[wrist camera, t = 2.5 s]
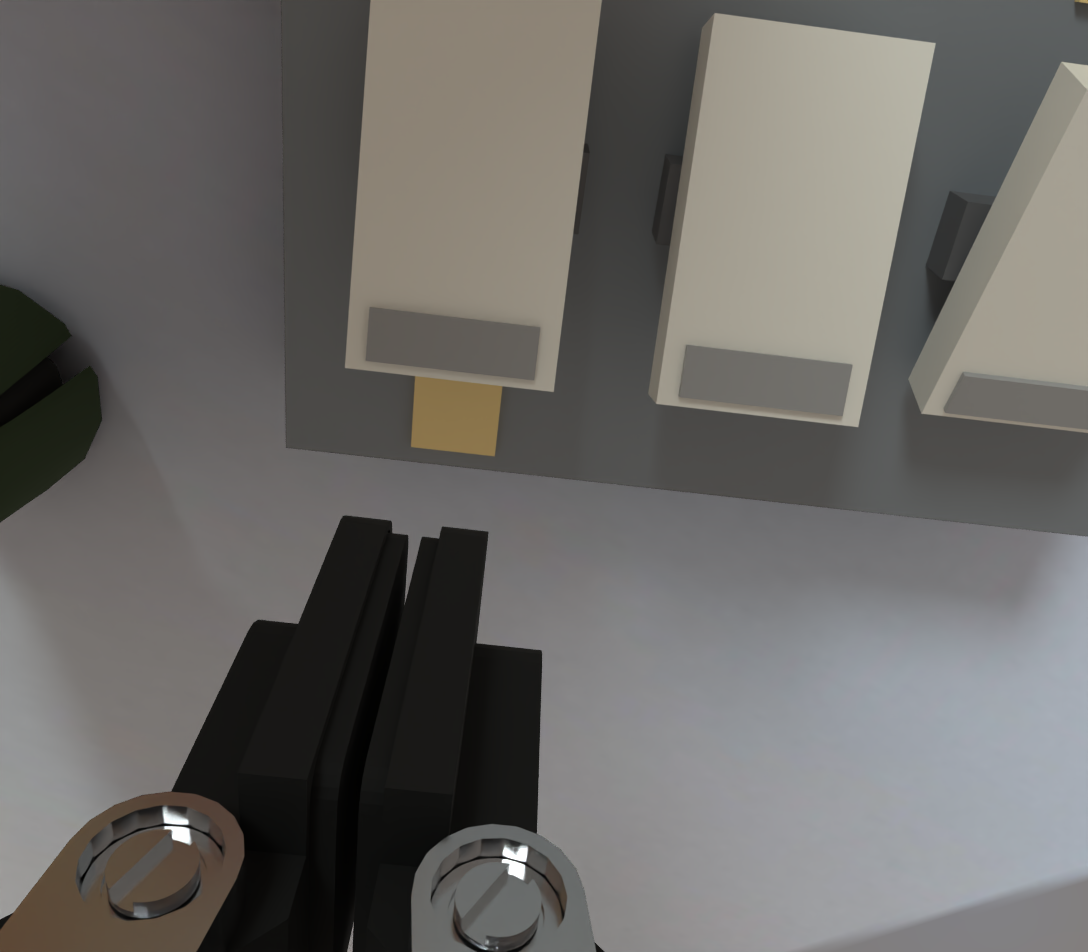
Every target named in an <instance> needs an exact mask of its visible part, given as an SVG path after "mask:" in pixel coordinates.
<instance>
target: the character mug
mask: <svg viewBox="0 0 1088 952" xmlns="http://www.w3.org/2000/svg"><path fill="white" fill-rule="evenodd" d="M70 337H71V334H70V333H69V331H68V329H67V327H66V326H65V324H64V323H63V322H61V321H60V320H59V319H57V318H56V317H55V316H53V315H52V314H50V313H49V312H48V311H46V310H45V309H44V308H42V307H41V306H40V305H38V304H37V303H35V302H34V301H33V300H31V299H30V298H29V297H27V296H26V295H25V294H23V293H22V292H20V291H19V290H16V289H13V288H10V287H6V286H3V285H0V522H1V521H3V520H4V519H6V518H7V517H8V516H10V515H11V514H13V513H14V512H16V511H17V510H19V509H20V508H21V507H23V506H24V505H26V504H27V503H29V502H30V501H32V500H33V499H34V498H36V497H37V496H39V495H40V494H42V493H43V492H45V491H46V490H47V489H49V488H50V487H51V486H52V485H53V484H55V483H56V482H57V481H58V480H60V479H61V478H62V477H63V476H64V475H66V474H67V473H68V472H69V471H70V470H72V469H73V468H74V467H75V466H76V465H78V464H79V463H80V462H81V461H83V460H84V459H85V457H86V455H87V452H88V450H89V448H90V446H91V443H92V441H93V439H94V437H95V434H96V432H97V430H98V428H99V425H100V423H101V421H102V417H101V407H100V397H99V387H98V377H97V375H96V374H95V372H94V371H93V369H92V368H91V366H89V367H87V368H86V369H84V370H83V371H82V372H80V373H79V374H77V375H76V376H75V377H73V378H72V379H71V380H69V381H68V382H66V383H65V384H64V385H63V384H62V381H61V378H60V375H59V372H58V369H57V366H56V365H55V364H54V363H53V362H52V361H51V360H49V359H48V358H47V356H48V355H49V354H51V353H52V352H53V351H54V350H55V349H57V348H58V347H59V346H60V345H61V344H63V343H64V342H65V341H66V340H67V339H68V338H70Z"/></svg>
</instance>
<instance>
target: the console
mask: <svg viewBox="0 0 1088 952" xmlns="http://www.w3.org/2000/svg"><path fill="white" fill-rule="evenodd" d="M370 1H371V0H281V29H282V122H283V216H284V309H285V403H286V448H294V449H303V450H312V451H321V452H330V453H339V454H348V455H357V456H366V457H375V458H384V459H393V460H402V461H411V462H420V463H429V464H438V465H447V466H456V467H465V468H474V469H483V470H492V471H501V472H510V473H519V474H528V475H537V476H546V477H555V478H564V479H573V480H582V481H591V482H600V483H609V484H618V485H627V486H637V487H646V488H655V489H664V490H673V491H682V492H691V493H700V494H709V495H718V496H727V497H736V498H745V499H754V500H763V501H772V502H781V503H790V504H799V505H808V506H817V507H826V508H835V509H844V510H853V511H862V512H871V513H880V514H889V515H898V516H907V517H916V518H925V519H934V520H943V521H952V522H961V523H970V524H979V525H989V526H998V527H1007V528H1016V529H1025V530H1034V531H1043V532H1052V533H1061V534H1070V535H1079V536H1088V433H1084V432H1075V431H1067V430H1058V429H1050V428H1041V427H1032V426H1024V425H1015V424H1007V423H998V422H989V421H981V420H972V419H964V418H955V417H947V416H938V415H929V414H921V411H920V409H919V406H918V403H917V401H916V398H915V395H914V393H913V390H912V388H911V385H910V382H909V380H908V378H909V376H910V374H911V372H912V370H913V368H914V366H915V364H916V362H917V360H918V358H919V356H920V354H921V352H922V349H923V347H924V345H925V343H926V341H927V339H928V337H929V335H930V333H931V331H932V329H933V327H934V325H935V322H936V320H937V318H938V316H939V314H940V312H941V310H942V308H943V306H944V304H945V302H946V300H947V298H948V296H949V293H950V291H951V289H952V287H953V285H954V283H955V281H956V279H957V277H958V275H959V273H960V271H961V269H962V267H963V264H964V262H965V260H966V258H967V256H968V254H969V252H970V250H971V248H972V246H973V244H974V242H975V240H976V238H977V235H978V233H979V231H980V229H981V227H982V225H983V223H984V221H985V219H986V217H987V215H988V213H989V211H990V209H991V206H992V204H993V202H994V200H995V198H996V196H997V194H998V192H999V190H1000V188H1001V186H1002V184H1003V182H1004V180H1005V177H1006V175H1007V173H1008V171H1009V169H1010V167H1011V165H1012V163H1013V161H1014V159H1015V157H1016V155H1017V153H1018V151H1019V148H1020V146H1021V144H1022V142H1023V140H1024V138H1025V136H1026V134H1027V132H1028V130H1029V128H1030V126H1031V124H1032V121H1033V119H1034V117H1035V115H1036V113H1037V111H1038V109H1039V107H1040V105H1041V103H1042V101H1043V99H1044V97H1045V95H1046V92H1047V90H1048V88H1049V86H1050V84H1051V82H1052V80H1053V78H1054V76H1055V74H1056V72H1057V70H1058V68H1059V66H1060V63H1061V62H1067V63H1074V64H1081V65H1088V0H602V3H601V11H600V19H599V27H598V35H597V44H596V52H595V60H594V68H593V76H592V84H591V92H590V100H589V108H588V117H587V125H586V133H585V141H584V149H583V157H582V165H581V173H580V182H579V190H578V198H577V206H576V214H575V222H574V230H573V238H572V246H571V255H570V263H569V271H568V279H567V287H566V295H565V303H564V311H563V320H562V328H561V336H560V344H559V352H558V360H557V368H556V376H555V384H554V392H549V391H541V390H532V389H523V388H515V387H506V386H497V385H489V384H480V383H471V382H463V381H454V380H445V379H436V378H428V377H419V376H410V375H402V374H393V373H384V372H376V371H367V370H358V369H350V368H345V359H346V344H347V330H348V316H349V301H350V287H351V273H352V259H353V244H354V230H355V216H356V201H357V187H358V173H359V158H360V144H361V130H362V115H363V101H364V87H365V73H366V58H367V44H368V30H369V15H370ZM714 13H719V14H726V15H733V16H741V17H748V18H755V19H763V20H770V21H777V22H785V23H792V24H799V25H806V26H814V27H821V28H828V29H836V30H843V31H850V32H858V33H865V34H872V35H880V36H887V37H894V38H901V39H909V40H916V41H923V42H931V43H936V44H935V49H934V54H933V59H932V64H931V69H930V74H929V79H928V84H927V89H926V94H925V99H924V104H923V109H922V114H921V119H920V124H919V129H918V133H917V138H916V143H915V148H914V153H913V158H912V163H911V168H910V173H909V178H908V183H907V188H906V193H905V198H904V203H903V208H902V213H901V218H900V223H899V227H898V232H897V237H896V242H895V247H894V252H893V257H892V262H891V267H890V272H889V277H888V282H887V287H886V292H885V297H884V302H883V307H882V312H881V317H880V322H879V326H878V331H877V336H876V341H875V346H874V351H873V356H872V361H871V366H870V371H869V376H868V381H867V386H866V391H865V396H864V401H863V406H862V411H861V416H860V420H859V425H858V427H853V426H844V425H835V424H827V423H818V422H809V421H801V420H792V419H783V418H775V417H766V416H757V415H749V414H740V413H731V412H723V411H714V410H705V409H697V408H688V407H679V406H671V405H662V404H656V403H655V402H654V401H653V399H652V398H651V397H650V396H649V394H648V392H649V385H650V379H651V372H652V365H653V358H654V351H655V345H656V338H657V331H658V324H659V317H660V311H661V304H662V297H663V290H664V283H665V277H666V270H667V263H668V256H669V249H670V243H671V236H672V229H673V222H674V216H675V209H676V202H677V195H678V188H679V182H680V175H681V168H682V161H683V154H684V148H685V141H686V134H687V127H688V120H689V114H690V107H691V100H692V93H693V86H694V80H695V73H696V66H697V59H698V53H699V46H700V39H701V32H702V27H703V26H704V25H705V24H706V23H707V21H708V20H709V19H710V18H711V17H712V16H713V14H714Z"/></svg>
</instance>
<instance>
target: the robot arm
mask: <svg viewBox="0 0 1088 952" xmlns="http://www.w3.org/2000/svg"><path fill="white" fill-rule="evenodd" d="M487 542H488V532H486V531H477V530H468V529H459V528H451V527H442V529H441V533H440V538H439V539H438V538H429V537H422V539H421V543H420V547H419V551H418V555H417V559H416V563H415V567H414V571H413V575H412V579H411V582H410V586H409V590H408V594H407V598H406V602H405V588H406V572H407V557H408V535H402V534H393V533H392V522H391V521H389V520H380V519H371V518H362V517H354V516H343V517H342V519H341V520H340V523H339V525H338V528H337V530H336V533H335V535H334V538H333V540H332V542H331V545H330V547H329V550H328V552H327V555H326V557H325V560H324V562H323V565H322V567H321V569H320V572H319V574H318V577H317V579H316V582H315V584H314V587H313V589H312V592H311V594H310V596H309V599H308V601H307V604H306V606H305V609H304V611H303V614H302V616H301V618H300V621H299V623H298V624H293V623H284V622H275V621H266V620H257V621H255V622H254V623H253V624H252V626H251V628H250V629H249V631H248V633H247V635H246V637H245V639H244V641H243V643H242V645H241V647H240V649H239V652H238V654H237V656H236V658H235V660H234V662H233V664H232V666H231V668H230V670H229V672H228V674H227V677H226V679H225V681H224V683H223V685H222V687H221V689H220V691H219V693H218V695H217V697H216V699H215V702H214V704H213V706H212V708H211V710H210V712H209V714H208V716H207V718H206V720H205V722H204V724H203V727H202V729H201V731H200V733H199V735H198V737H197V739H196V741H195V743H194V745H193V747H192V749H191V752H190V754H189V756H188V758H187V760H186V762H185V764H184V766H183V768H182V770H181V772H180V774H179V777H178V779H177V781H176V783H175V785H174V787H173V789H172V791H171V792H163V793H155V794H148V795H141V796H139V797H136V798H133V799H130V800H127V801H125V802H122V803H119V804H116V805H114V806H112V807H111V808H109V809H107V810H106V811H104V812H102V813H101V814H99V815H98V816H96V817H94V818H93V819H91V820H90V821H89V822H88V823H87V824H85V825H84V826H83V827H82V828H81V829H80V830H79V831H78V832H77V833H76V834H75V835H74V836H73V837H72V838H71V839H70V840H69V842H68V843H67V844H66V846H65V847H64V848H63V850H62V851H61V852H60V853H59V855H58V856H57V857H56V859H55V860H54V861H53V862H52V864H51V865H50V866H49V868H48V869H47V870H46V871H45V873H44V874H43V875H42V877H41V878H40V879H39V881H38V882H37V883H36V884H35V886H34V887H33V888H32V890H31V891H30V892H29V893H28V895H27V896H26V897H25V899H24V900H23V901H22V903H21V904H20V905H19V906H18V908H17V909H16V910H15V912H14V913H12V914H10V915H8V916H6V917H4V918H2V919H0V952H347V949H348V945H349V940H350V936H351V931H352V927H353V922H354V931H353V952H604V951H603V950H602V949H601V948H600V947H599V946H598V945H597V944H596V943H595V942H594V937H593V932H592V927H591V922H590V917H589V912H588V907H587V901H586V896H585V891H584V888H583V886H582V883H581V880H580V878H579V875H578V872H577V870H576V868H575V867H574V865H573V864H572V863H571V862H570V860H569V859H568V858H567V857H566V855H565V854H564V853H563V852H562V850H561V849H559V848H558V847H556V846H555V845H554V844H552V843H551V842H549V841H548V840H547V839H545V838H544V837H542V836H541V835H538V834H537V810H538V777H539V744H540V712H541V679H542V651H541V650H532V649H523V648H514V647H505V646H496V645H486V644H477V643H476V641H477V632H478V623H479V614H480V605H481V596H482V587H483V578H484V569H485V560H486V551H487ZM404 603H405V606H404Z"/></svg>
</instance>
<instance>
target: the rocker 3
mask: <svg viewBox="0 0 1088 952" xmlns="http://www.w3.org/2000/svg"><path fill="white" fill-rule="evenodd" d="M908 380H909V382H910V385H911V388H912V390H913V393H914V395H915V398H916V401H917V403H918V406H919V409H920V411H921V414H929V415H938V416H947V417H955V418H964V419H972V420H981V421H989V422H998V423H1007V424H1015V425H1024V426H1032V427H1041V428H1050V429H1058V430H1067V431H1075V432H1084V433H1088V65H1081V64H1074V63H1067V62H1061V63H1060V66H1059V68H1058V70H1057V72H1056V74H1055V76H1054V78H1053V80H1052V82H1051V84H1050V86H1049V88H1048V90H1047V92H1046V95H1045V97H1044V99H1043V101H1042V103H1041V105H1040V107H1039V109H1038V111H1037V113H1036V115H1035V117H1034V119H1033V121H1032V124H1031V126H1030V128H1029V130H1028V132H1027V134H1026V136H1025V138H1024V140H1023V142H1022V144H1021V146H1020V148H1019V151H1018V153H1017V155H1016V157H1015V159H1014V161H1013V163H1012V165H1011V167H1010V169H1009V171H1008V173H1007V175H1006V177H1005V180H1004V182H1003V184H1002V186H1001V188H1000V190H999V192H998V194H997V196H996V198H995V200H994V202H993V204H992V206H991V209H990V211H989V213H988V215H987V217H986V219H985V221H984V223H983V225H982V227H981V229H980V231H979V233H978V235H977V238H976V240H975V242H974V244H973V246H972V248H971V250H970V252H969V254H968V256H967V258H966V260H965V262H964V264H963V267H962V269H961V271H960V273H959V275H958V277H957V279H956V281H955V283H954V285H953V287H952V289H951V291H950V293H949V296H948V298H947V300H946V302H945V304H944V306H943V308H942V310H941V312H940V314H939V316H938V318H937V320H936V322H935V325H934V327H933V329H932V331H931V333H930V335H929V337H928V339H927V341H926V343H925V345H924V347H923V349H922V352H921V354H920V356H919V358H918V360H917V362H916V364H915V366H914V368H913V370H912V372H911V374H910V376H909V378H908Z"/></svg>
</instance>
